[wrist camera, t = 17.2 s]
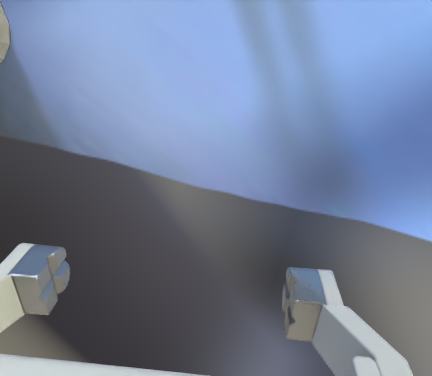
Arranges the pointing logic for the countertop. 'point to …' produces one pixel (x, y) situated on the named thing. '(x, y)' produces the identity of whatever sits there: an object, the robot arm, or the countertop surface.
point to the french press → (3, 34)
